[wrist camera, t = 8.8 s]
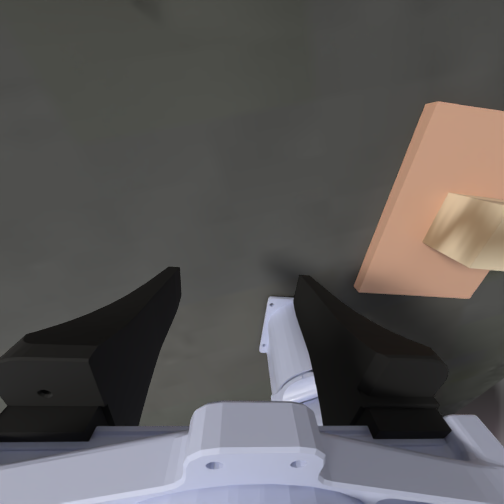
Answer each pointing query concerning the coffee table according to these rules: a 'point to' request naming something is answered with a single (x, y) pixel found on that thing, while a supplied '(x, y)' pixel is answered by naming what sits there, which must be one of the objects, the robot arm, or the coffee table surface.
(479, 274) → the terracotta tile
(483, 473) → the robot arm
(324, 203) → the coffee table surface
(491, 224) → the maple cube
